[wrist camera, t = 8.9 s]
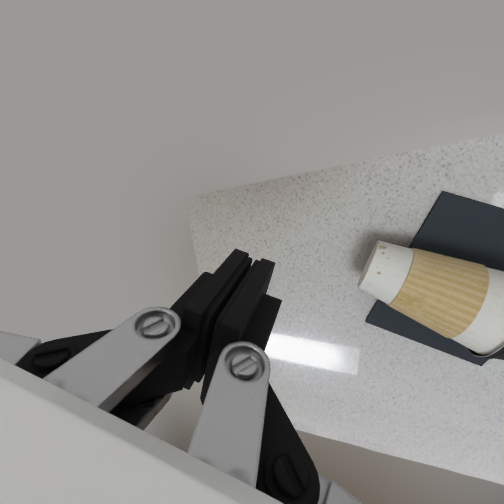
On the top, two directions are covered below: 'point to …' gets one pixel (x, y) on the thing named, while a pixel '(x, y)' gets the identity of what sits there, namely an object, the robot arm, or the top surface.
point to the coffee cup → (441, 294)
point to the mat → (453, 245)
